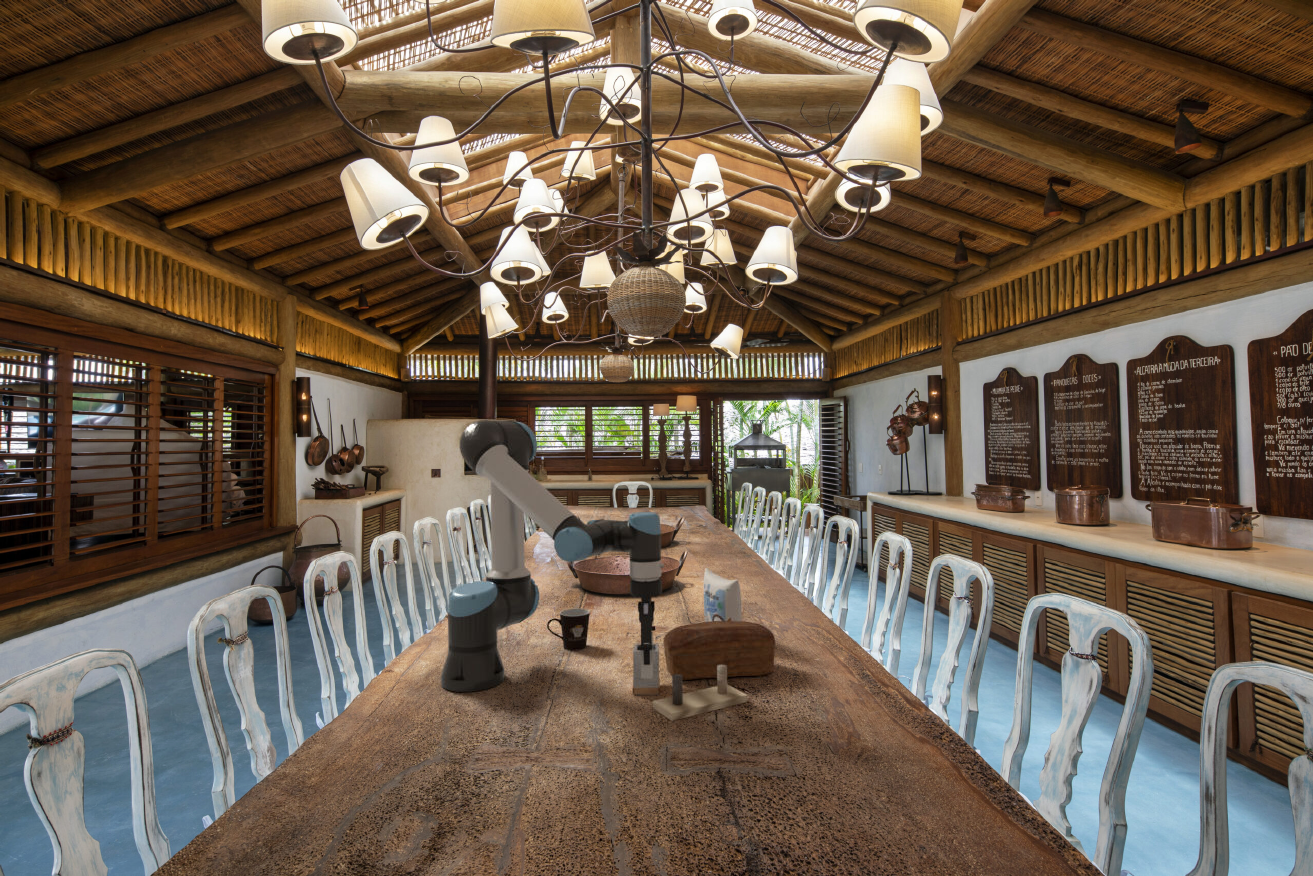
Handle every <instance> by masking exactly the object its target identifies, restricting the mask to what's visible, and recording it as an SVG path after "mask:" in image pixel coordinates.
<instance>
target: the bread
mask: <svg viewBox="0 0 1313 876" xmlns="http://www.w3.org/2000/svg"><path fill="white" fill-rule="evenodd" d="M775 645H776V638H775V636H774V633H773V631H771V630H770V629H769V628H768V627H766V626H765V625H763V624H761V623H755V622H751V621H743V620H742V621H711V622H705V621H703V622H697V623H691V624H685V625H679V626H676V627H674V628H672V629H671V630H669V631H668V632H667V633H666V634H665V635H664V637H663V648H664V658H665V663H666V669H667V672H668V674H670V675H671V676H673V675H675V674H680V675H682V681H684V680H685V681H686V680H689V681H691V680H697V679H699V680H700V679H711V678H713V679H717V666H718V665H726V666H727V678H733V677H744V676H765V675H768V674H771V672H773V670H774V669H775V668H774V667H775Z"/></svg>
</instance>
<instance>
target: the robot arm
mask: <svg viewBox="0 0 1313 876" xmlns="http://www.w3.org/2000/svg"><path fill="white" fill-rule="evenodd" d="M459 450H460V451H459V452H460V455H461V456H462V457H461V458H462V459H463V461H464V462H465V463H466V465H467V466H468V467H469V468H470V469H471V470H472V471H473V472H474V473H475V474H476V475H477V476H478V477H481V478H485V477H486V478H487V479H488V480H489V481H490V520H491V521H490V522H491V523H490V527H491V529H490V530H491V531H490V532H491V533H490V535H491V543H490V544H491V569H490V570H488V572H487V573H486V575H485V580H478V581H473V582H467V583H463V584H461V585H459V586H456V587H454V588H453V589H452V590H451V591H450V592H449V595H448V603H447V610H446V611H447V627H448V629H447V630H448V631H447V636H448V637H447V638H448V639H447V641H448V642H447V643H448V647H447V649H448V652H447V654H446V658H445V661H444V664H443V667H442V671H441V673H440V674H441V675H440V686H441V687H442V688H443V689H445V690H447V691H452V692H460V693H461V692H462V693H465V692H466V693H470V692H477V691H484V690H488V689H491V688H494V687H496V686H498V685H500V684H502V683H503V682H504V680H505V675H506V674H505V667H504V666H505V665H504V663H503V661H502V658H501V654H500V652H499V649H498V631H499V630H502V629H505V628H508V627H510V626H513V625H517V624H520V623H522V622H524V621H525V620H526V619H529V618H530V617H531V616H532V615H533V614H534V613H535V612H536V610H537V609H538V606H539V602H540V589H539V587H538V585H536V581H535V580H534V579H533V578H532V576H531V575H532V574H531V570H529V569H528V568H527V567H526V563H525V561H526V559H525V515H526V516H528V518H529V519H530V520H532V522H534V523H535V524H536V525H537V526H538V527H539V528H540V529H541V530H542V531H544V533H546V534H547V535H548V536H549V537H550V539H552V540H553V546H554V550H555V552H556V555H557V556H558V557H559V558H560V559H561V560H562V561H565V562H568V563H571V562H579V561H584V560H585V559H588V558H591V557H594V556H598V555H602V554H606V553H608V552H617V553H618V552H624V553H629V554H628V555H629V577H630V578H631V579H630V580H629V586H630V589H629V591H630V595H631V596H632V597H635V598H640V599H641V600H640V601H637V612H638V620H639V621H638V622H639V623H640V644H641V646H638V650H641V679H644V678H653V648H652V644H654V632H655V631H656V625H654V623H653V622H655V621H654V620H655V619H654V618H655V616H654V615H655V613H654V612H655V611H656V610H655V602H656V601H655V600H652V599H653V598H654V597H655V598H656V597H659V596H661V595H662V593H663V583H662V582H663V581H662V579H661V576H662V568H664V567H665V566H664V565H665V564H664V563H662V555H661V554H662V552H661V551H662V548H661V547H662V537H661V535H662V530H661V517H660V515H659V514H658V513H657V512H651V511H650V512H649V511H648V512H647V511H646V512H645V511H641V512H631V513H630V514H629V515H628V520H615V519H604V518H600V519H590V520H588V521H587V523H584V522H583V521H582V520H581V519H580V518H579V517H577V515H575V514H574V513H573V512H571V510H570V509H569V508H567V506H565V505H564V503H562V502H561V501H560V500H559V499H558V498H557V497H555V495H553V494H552V493H551V492H550V491H549V490H548V489H547V488H546V487H545V486H544V485H542V484H541V483H540V482H539V481H538V480H537V479H535V477H534V476H533V475H531V474H530V473H529V471H530V462H531V461H532V460H533V459H534V457H535V456H536V454H537V451H538V441H537V438H536V435H535V432H534V431H533V430H532V428H530V427H529V425H527V424H525V423H523V422H521V421H520V422H519V421H515V420H490V419H481V420H476V421H474V422H472V423H470V424H469V425H467V426H466V428H465V429H464V430H463V431H462V433H461V435H460V438H459Z"/></svg>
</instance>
